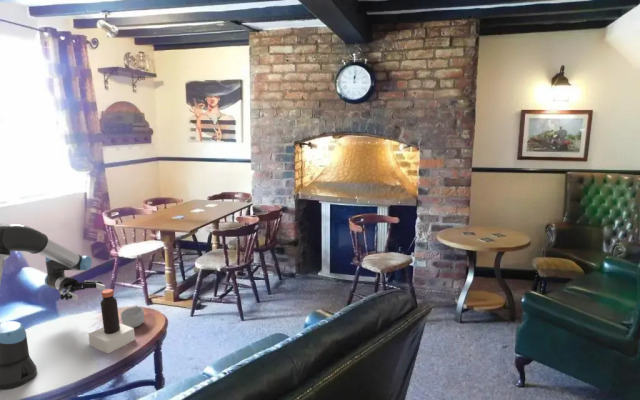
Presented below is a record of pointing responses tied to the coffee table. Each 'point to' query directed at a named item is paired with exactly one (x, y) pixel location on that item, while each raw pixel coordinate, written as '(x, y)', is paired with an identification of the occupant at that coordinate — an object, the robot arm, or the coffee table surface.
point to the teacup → (132, 316)
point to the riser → (111, 338)
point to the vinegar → (109, 312)
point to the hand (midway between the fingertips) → (91, 293)
